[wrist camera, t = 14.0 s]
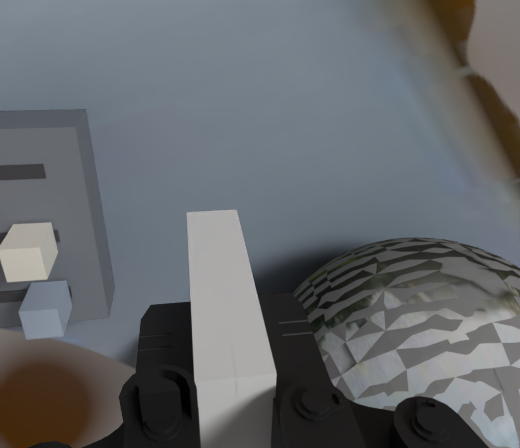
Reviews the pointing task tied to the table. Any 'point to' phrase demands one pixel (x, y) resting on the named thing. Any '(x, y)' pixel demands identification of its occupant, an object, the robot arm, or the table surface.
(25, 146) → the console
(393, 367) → the decorative globe
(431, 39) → the table surface
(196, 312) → the robot arm
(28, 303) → the block
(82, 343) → the table surface
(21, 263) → the slider ivory
